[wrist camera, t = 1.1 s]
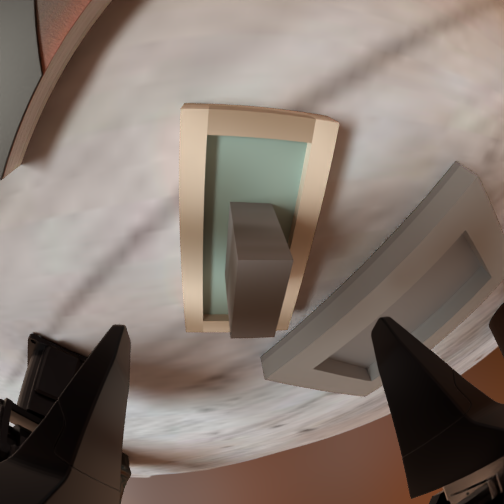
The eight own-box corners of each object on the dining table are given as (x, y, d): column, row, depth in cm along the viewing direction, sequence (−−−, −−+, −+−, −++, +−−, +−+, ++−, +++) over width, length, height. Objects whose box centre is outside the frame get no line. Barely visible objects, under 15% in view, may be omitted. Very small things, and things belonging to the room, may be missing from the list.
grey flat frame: (359, 380, 27) (365, 396, 25) (260, 357, 21) (264, 379, 20) (501, 253, 19) (514, 267, 17) (455, 161, 13) (477, 175, 12)
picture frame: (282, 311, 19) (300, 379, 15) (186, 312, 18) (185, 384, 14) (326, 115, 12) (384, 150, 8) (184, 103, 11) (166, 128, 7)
